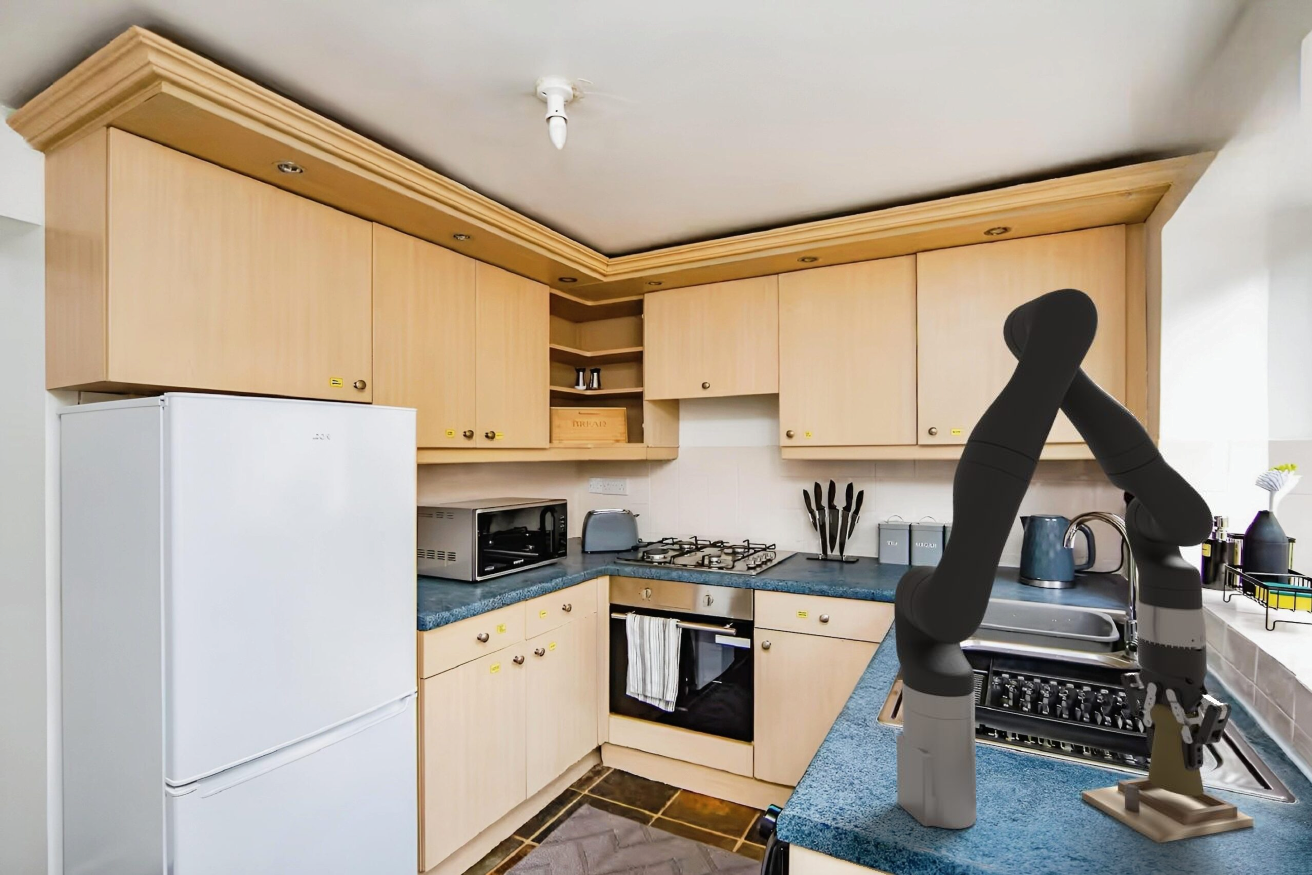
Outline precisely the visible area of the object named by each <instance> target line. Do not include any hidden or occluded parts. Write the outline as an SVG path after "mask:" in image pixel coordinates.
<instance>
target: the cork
mask: <svg viewBox="0 0 1312 875" xmlns="http://www.w3.org/2000/svg"><path fill="white" fill-rule="evenodd" d="M1185 716H1186V717H1187V718H1193V717H1195V714H1194V712H1193V713H1190V714H1185ZM1150 717H1151V720H1152V721H1153V723H1154V724H1155V731H1154V738H1153V746H1152V753H1150V754H1151V755H1150V762H1149V767H1148V768H1149V769H1148V770H1149V771H1148V776H1147V777H1148V779H1149V781H1150V782H1151V783H1152V784H1154V785H1155V786H1157V787H1159V788H1161V789H1163V790H1166V791H1169V792H1172V793H1176V794H1181V795H1186V796H1198V795H1201V794H1203V792H1204V791H1205V790H1204V785H1203V781H1202V779H1203V778H1202V774H1201V767H1200V768H1199V769H1198V770H1193V771H1189V770H1187V769H1186V768H1185V764H1184V758H1183V752H1182V741H1184V739H1183V736H1182V733H1181V731H1182V729H1183V725H1181V724H1179V723H1178V722H1177V719H1176V717H1175V715H1174V714H1173V711H1172V708H1171V707H1168V706H1166V705H1163V704H1158V703H1157V704H1155V705H1154V706H1153V707H1152V708H1151V710H1150ZM1191 728H1192V732H1194V730H1195V728H1196V724H1192V725H1191Z"/></svg>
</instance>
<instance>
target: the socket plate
mask: <svg viewBox="0 0 1312 875" xmlns="http://www.w3.org/2000/svg"><path fill="white" fill-rule="evenodd" d="M1081 799H1082V800H1084V801H1086V802H1087V803H1088V804H1091V805H1093V806H1094V807H1096V808H1098V809H1100V810H1101V811H1103V812H1104V813H1106V814H1108V815H1109V816H1110V817H1113V818H1115V819H1116V820H1118V821H1119V822H1122V823H1123V824H1125V825H1127V826H1128V827H1130V828H1132V829H1133V830H1135V831H1137V832H1138V833H1140V834H1142V835H1144V836H1145V837H1147V838H1148V839H1149V840H1152V841H1154V842H1156V843H1158V844H1162V843H1167V842H1172V841H1177V840H1183V839H1189V838H1194V837H1198V836H1204V835H1205V836H1206V835H1210V834H1216V833H1221V832H1228V831H1232V830H1238V829H1244V828H1249V827H1254V818H1253V817H1251V816H1249V815H1247V814H1245V813H1243V812H1241V811H1239V810H1238V806H1237V805H1234V804H1232V803H1230V802H1228V801H1226V800H1224V799H1221V798H1220V797H1218V796H1216V795H1213V794H1211V793H1209V792H1207V791H1206V790H1204V792H1203V794H1201V795H1198V796H1186V795H1181V794H1176V793H1172V792H1169V791H1166V790H1163V789H1161V788H1159V787H1157V786H1155V785H1154V784H1152V783H1151V782H1150V781H1149V779H1148V776H1147V777H1145V776H1144V777H1138V778H1131V779H1125V780H1118V781H1117V785H1115V786H1114V785H1113V786H1108V787H1101V788H1096V789H1089V790H1088V789H1087V790H1082V791H1081Z"/></svg>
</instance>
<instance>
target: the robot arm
mask: <svg viewBox="0 0 1312 875" xmlns="http://www.w3.org/2000/svg"><path fill="white" fill-rule="evenodd" d="M1098 311H1099V310H1098V308H1097V306H1096V304H1095V302H1094V300H1093V298H1092V297H1091V296H1090V295H1089V294H1088V293H1086V292H1085V291H1083V290H1081V289H1080V290H1079V289H1077V288H1063V289H1061V288H1060V289H1056V290H1053V291H1051V292H1046V293H1044V294H1042V295H1040V296H1038V297H1037V298H1034V299H1032V300H1030V301H1027V302H1025V303H1022V304H1021V305H1019V306H1018V307H1016V308H1014V309H1013V310H1012V311H1010V313H1009V314H1008V315H1007V317H1006V319H1005V321H1004V324H1003V329H1002V330H1003V331H1002V335H1003V338H1004V342H1005V345H1006V347H1007V348H1008V350H1009V351H1010V353H1011V354H1012V355H1013V356H1014V358H1015V359H1016V360H1017V361H1018V362H1017V364H1016V367H1015V370H1014V372H1013V373H1012V375H1011V377H1010V379H1009V380H1008V382H1007V384H1006V385H1005V387H1004V388H1003V389H1002V390H1001V391H1000V392H999V394H998V396H996V398H995V399H994V400H993V402H992V403H991V404H990V405H989V407H988V408H987V409H986V410H985V411H984V413H983V415H982V416H981V417H980V419H979V420H978V421H977V423H976V424H975V426H974V427H973V429H972V431H971V432H970V434H969V437H968V438H967V440H966V443H965V446H964V448H963V451H962V453H961V455H960V457H959V460H958V463H957V466H956V469H955V471H954V477H953V484H952V523H951V524H952V525H951V530H950V535H949V537H948V541H947V543H946V546H945V548H944V550H943V553H942V555H941V557H940V560H939V562H938V564H937V565H936V566H933V565H932V566H931V565H917V566H914V567H912V568H910V569H909V570H907V571H905V572H904V574H903V575H902V576H901V577H900V579H899V580H898V583H897V586H896V588H895V593H894V600H893V602H894V604H893V607H894V609H893V610H894V614H893V615H894V628H895V629H894V630H895V631H894V632H895V648H896V650H895V651H896V656H897V659H898V662H899V665H900V669H901V681H902V682H901V684H902V685H901V686H902V688H901V689H902V690H901V691H902V693H901V694H902V734H899V735H897V736H896V773H897V774H896V780H897V781H896V783H897V784H896V786H897V787H896V789H897V790H896V792H897V794H896V796H897V797H896V798H897V800H896V801H897V804H898V805H899V806H900V807H901V808H903V809H904V811H906V812H907V813H908V814H909V815H911V817H913V818H914V819H915V820H916V821H918V822H919V823H920V824H921V825H922V826H923V827H938V828H943V829H949V830H950V829H951V830H955V829H956V830H957V829H959V830H961V829H966V828H969V827H971V826H972V825H975V823H976V821H977V772H976V769H977V768H976V767H977V765H976V764H977V763H976V762H977V760H976V704H975V703H976V701H975V694H976V693H975V691H976V690H975V674H974V673H975V672H974V669H973V667H972V665H971V663H969V661H968V660H967V658H966V656H965V654H964V652H963V649H962V646H961V643H963V642H964V641H966V640H968V639H969V638H971V637H973V635H974V634H975V633H976V632H977V631H978V629H979V628H980V626H981V624H982V622H983V620H984V617H985V615H986V611H987V608H988V605H989V602H990V598H991V595H992V591H993V586H994V583H995V579H996V575H997V571H998V568H999V564H1000V561H1001V557H1002V554H1003V551H1004V549H1005V547H1006V543H1007V541H1008V538H1009V537H1010V534H1011V531H1012V528H1013V526H1014V522H1015V520H1016V518H1017V515H1018V513H1019V510H1020V508H1021V504H1022V503H1023V500H1024V498H1025V496H1026V493H1028V490H1029V487H1030V484H1031V482H1032V480H1033V476H1034V475H1035V472H1036V469H1037V467H1038V465H1039V461H1040V459H1041V455H1042V452H1043V450H1044V446H1045V445H1046V442H1047V439H1048V437H1049V435H1050V432H1051V430H1052V427H1053V425H1054V424H1055V423H1054V422H1055V420H1056V418H1057V416H1058V413H1059V410H1061V411H1062V413H1063V414H1064V415H1065V416H1066V418H1067V419H1068V421H1069V422H1070V423H1071V424H1072V425H1073V426H1074V428H1075V430H1076V431H1077V433H1079V435H1080V437H1081V438H1082V439H1083V441H1084V442H1085V444H1086V446H1087V447H1088V449H1089V451H1090V452H1091V454H1092V455H1093V457H1094V458H1095V461H1096V462H1097V464H1098V465H1099V466H1100V468H1101V469H1102V471H1103V473H1104V474H1105V476H1106V478H1107V479H1108V480H1109V481H1110V483H1111V484H1112V485H1113V486H1114V487H1116V488H1118V489H1120V490H1121V491H1125V492H1126V493H1129V494H1130V495H1132V496H1133V497H1134V498H1133V499H1132V500H1131V501H1130V503H1129V504H1128V506H1127V508H1126V511H1125V513H1124V528H1125V533H1126V534H1125V535H1126V537H1127V538H1126V539H1127V541H1128V545H1129V548H1130V551H1131V555H1132V559H1133V561H1134V563H1135V566H1136V567H1135V568H1136V569H1137V576H1138V577H1137V582H1138V583H1137V588H1138V589H1137V590H1138V592H1137V593H1138V594H1137V595H1138V605H1137V606H1138V608H1137V613H1136V626H1137V627H1136V630H1137V631H1136V632H1137V634H1136V641H1137V663H1138V665H1139V666H1140V667H1141V668H1140V671H1139V672H1127V673H1122V674H1120V679H1121V683H1122V686H1123V690H1124V693H1125V695H1126V696H1125V697H1126V700H1127V702H1128V703H1127V704H1128V705H1129V709H1130V713H1131V715H1132V716H1133V717H1135V718H1139V719H1140V720H1142V722H1143V724H1144V726H1145V730H1146V731H1145V732H1146V733H1145V736H1146V746H1147V748H1148V752H1149V753H1150V754H1151V753H1152V746H1153V738H1154V731H1155V724H1154V723H1153V721H1152V720H1151V717H1150V710H1151V708H1152V707H1153V706H1154V705H1155V704H1157V703H1158V704H1163V705H1166V706H1168V707H1171V708H1172V711H1173V714H1174V715H1175V717H1176V719H1177V722H1178V723H1179V724H1181V725H1183V729H1182V731H1181V733H1182V736H1183V739H1184V741H1182V752H1183V758H1184V764H1185V768H1186V769H1187V770H1189V771H1193V770H1198V769H1199V768H1200V769H1201V768H1202V767H1203V766H1204V747H1203V746H1204V745H1209V744H1218V743H1219V742H1221V739H1222V736H1223V734H1224V731H1225V728H1226V726H1227V723H1228V720H1229V718H1230V715H1231V713H1232V710H1233V709H1232V706H1231V705H1230V704H1229V703H1228V702H1220V701H1218V700H1216V699H1215V698H1213V697H1212V696H1210V695H1209V691H1208V690H1207V687H1206V685H1205V679H1206V677H1207V675H1208V674H1207V673H1208V665H1207V664H1208V663H1207V660H1208V659H1207V634H1206V633H1207V632H1206V630H1207V629H1206V622H1205V617H1204V611H1203V610H1204V609H1203V589H1202V588H1203V583H1202V575H1201V572H1200V570H1199V569H1198V568H1197V566H1194V565H1193V564H1192V563H1189V562H1188V561H1187V560H1185V558H1183V556H1182V553H1181V550H1180V547H1182V548H1184V547H1185V548H1187V547H1188V548H1190V547H1196V546H1199V545H1201V544H1203V543H1205V542H1206V541H1207V540H1208V539H1210V536H1211V535H1212V533H1213V530H1214V517H1213V513H1212V511H1211V509H1210V507H1209V505H1208V503H1207V502H1206V500H1205V498H1204V497H1202V495H1201V494H1200V493H1199V492H1198V491H1197V490H1196V489H1195V488H1194V487H1193V486H1192V485H1191V484H1190V483H1189V482H1188V480H1186V479H1185V478H1184V477H1183V476H1182V475H1181V474H1180V473H1179V472H1178V471H1177V470H1176V469H1174V468H1173V466H1171V465H1170V464H1169V463H1168V462H1167V461H1166V460H1165V459H1164V457H1163V455H1162V453H1161V451H1160V450H1159V448H1158V446H1157V445H1156V443H1155V442H1154V440H1153V439H1152V437H1151V436H1150V434H1149V433H1148V431H1147V429H1146V427H1144V425H1143V424H1142V422H1141V421H1140V420H1139V419H1138V418H1137V417H1136V416H1135V415H1134V413H1132V412H1131V410H1129V409H1128V408H1127V407H1125V405H1123V404H1122V403H1121V402H1120V401H1118V400H1117V399H1116V398H1115V397H1114V396H1112V395H1111V394H1110V393H1108V392H1107V391H1106V390H1105V389H1103V388H1102V387H1101V386H1100V385H1099V384H1097V383H1096V382H1095V380H1093V378H1092V377H1091V376H1090V375H1089V374H1088V373H1087V372H1086V370H1084V368H1083V367H1082V366H1081V364H1082V363H1083V361H1084V360H1085V357H1086V356H1087V354H1088V353H1089V350H1090V348H1091V346H1092V345H1093V343H1094V340H1095V339H1096V338H1095V337H1096V336H1097V331H1098V328H1099V312H1098ZM1201 706H1203V709H1201ZM1193 712H1194V714H1195V717H1193V718H1187V717H1186V716H1185V714H1190V713H1193ZM1203 714H1204V715H1203ZM1192 724H1196V728H1195V730H1194V732H1192V728H1191V725H1192Z"/></svg>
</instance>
